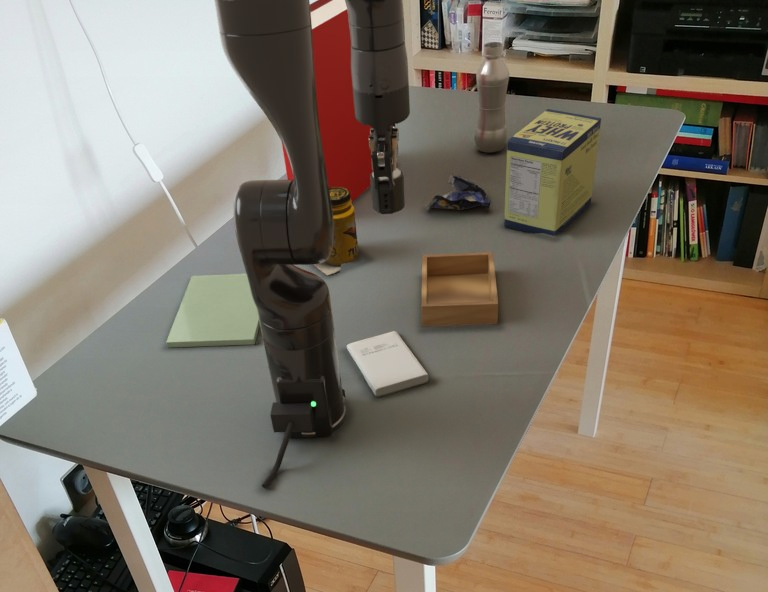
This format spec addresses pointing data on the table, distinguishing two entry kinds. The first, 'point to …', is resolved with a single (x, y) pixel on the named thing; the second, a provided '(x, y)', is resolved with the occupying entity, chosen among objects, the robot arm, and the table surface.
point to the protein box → (550, 171)
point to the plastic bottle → (491, 99)
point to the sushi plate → (215, 313)
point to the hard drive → (387, 363)
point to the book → (337, 101)
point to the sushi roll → (398, 191)
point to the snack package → (460, 196)
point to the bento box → (459, 289)
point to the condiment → (341, 232)
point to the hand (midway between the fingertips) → (388, 203)
